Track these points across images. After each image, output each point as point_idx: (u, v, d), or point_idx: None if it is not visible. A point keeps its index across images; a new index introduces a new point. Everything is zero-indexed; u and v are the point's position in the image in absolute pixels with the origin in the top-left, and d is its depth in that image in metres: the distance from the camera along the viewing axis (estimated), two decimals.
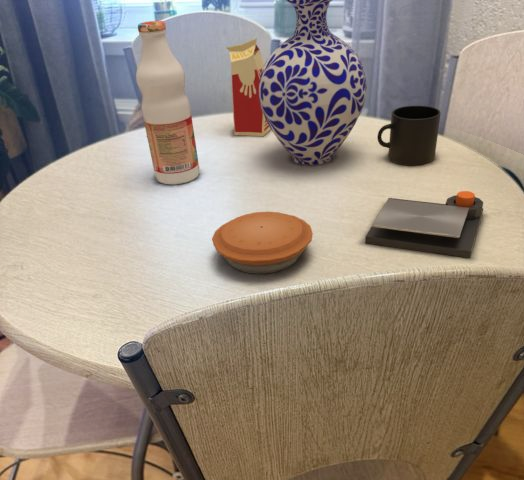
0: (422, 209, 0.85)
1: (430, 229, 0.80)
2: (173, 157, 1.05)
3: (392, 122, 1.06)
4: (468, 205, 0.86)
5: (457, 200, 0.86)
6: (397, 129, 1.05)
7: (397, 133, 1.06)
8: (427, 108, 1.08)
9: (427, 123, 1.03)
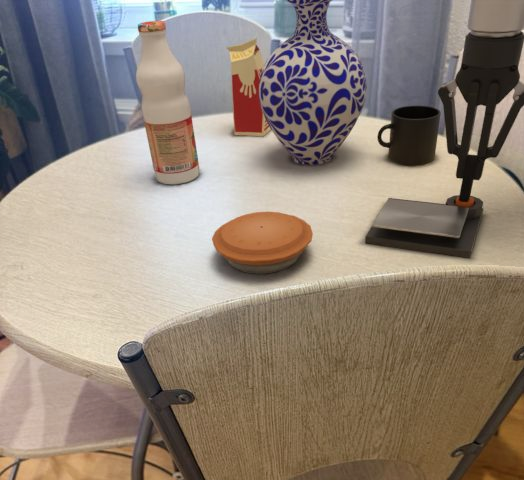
0: (422, 209, 0.85)
1: (430, 229, 0.80)
2: (173, 157, 1.05)
3: (392, 122, 1.06)
4: None
5: None
6: (397, 129, 1.05)
7: (396, 133, 1.06)
8: (427, 108, 1.08)
9: (427, 123, 1.03)
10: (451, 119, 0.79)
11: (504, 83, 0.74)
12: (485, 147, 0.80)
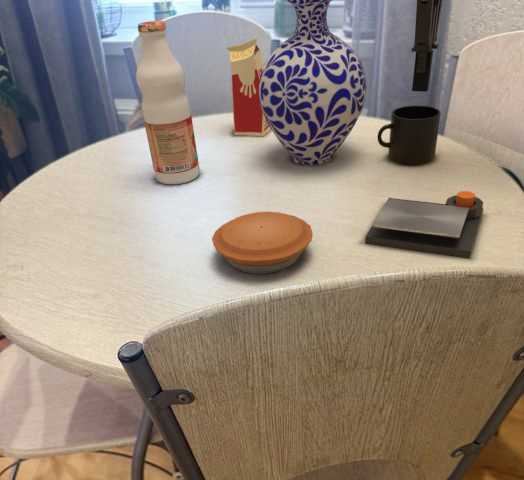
0: (422, 209, 0.85)
1: (430, 229, 0.80)
2: (173, 157, 1.05)
3: (392, 122, 1.06)
4: (468, 205, 0.86)
5: (457, 200, 0.86)
6: (397, 129, 1.05)
7: (396, 133, 1.06)
8: (427, 108, 1.08)
9: (427, 123, 1.03)
10: (432, 16, 0.87)
11: None
12: (435, 35, 0.94)
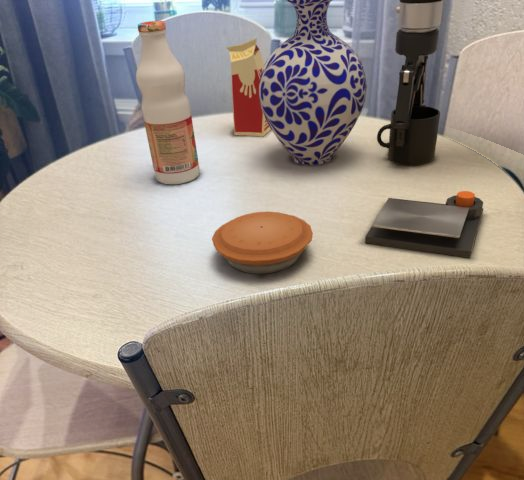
0: (422, 209, 0.85)
1: (430, 229, 0.80)
2: (173, 157, 1.05)
3: (392, 122, 1.06)
4: (468, 205, 0.86)
5: (457, 200, 0.86)
6: None
7: None
8: (427, 108, 1.08)
9: (427, 123, 1.02)
10: (411, 98, 0.98)
11: (422, 62, 1.02)
12: (421, 100, 1.09)
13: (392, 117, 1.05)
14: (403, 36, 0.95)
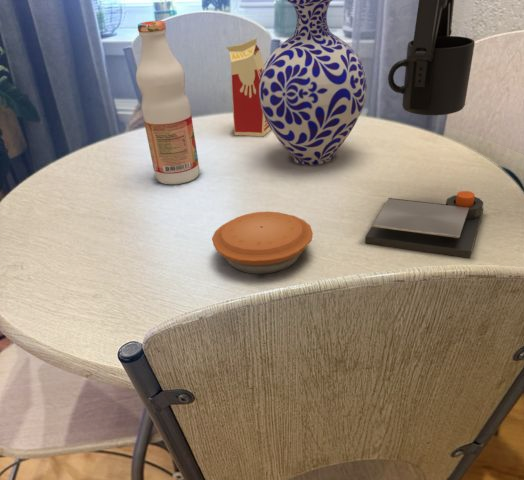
0: (422, 209, 0.85)
1: (430, 229, 0.80)
2: (173, 157, 1.05)
3: None
4: (468, 205, 0.86)
5: (457, 200, 0.86)
6: None
7: None
8: (455, 39, 0.80)
9: (457, 54, 0.75)
10: (436, 15, 0.71)
11: None
12: (448, 28, 0.81)
13: (409, 48, 0.78)
14: None
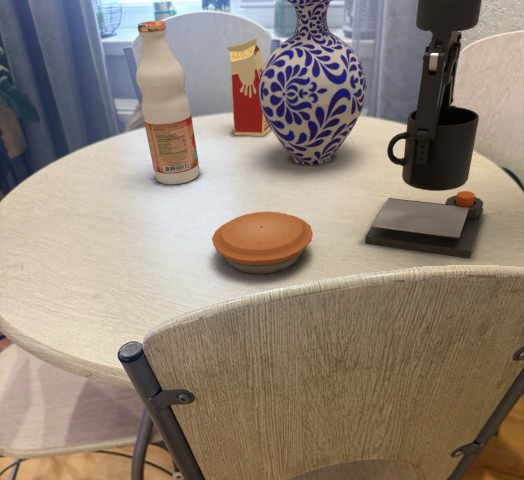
0: (422, 209, 0.85)
1: (430, 229, 0.80)
2: (173, 157, 1.05)
3: (409, 130, 0.74)
4: (468, 205, 0.86)
5: (457, 200, 0.86)
6: None
7: None
8: (458, 110, 0.76)
9: (460, 132, 0.71)
10: (439, 95, 0.67)
11: None
12: (450, 98, 0.77)
13: (409, 122, 0.74)
14: (429, 2, 0.64)
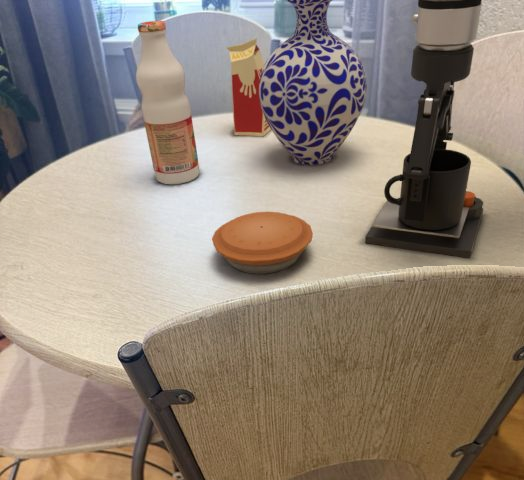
0: None
1: None
2: (173, 157, 1.05)
3: None
4: (468, 205, 0.86)
5: None
6: None
7: None
8: (451, 153, 0.80)
9: (453, 177, 0.74)
10: (433, 138, 0.69)
11: (448, 90, 0.74)
12: (447, 128, 0.81)
13: (405, 166, 0.77)
14: (423, 56, 0.67)
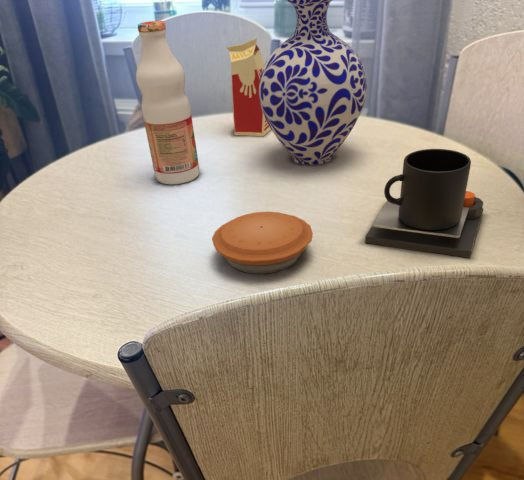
0: None
1: None
2: (173, 157, 1.05)
3: (404, 173, 0.78)
4: (468, 205, 0.86)
5: None
6: (412, 183, 0.77)
7: (411, 189, 0.78)
8: (451, 153, 0.80)
9: (453, 177, 0.74)
10: None
11: None
12: None
13: (405, 166, 0.77)
14: None
